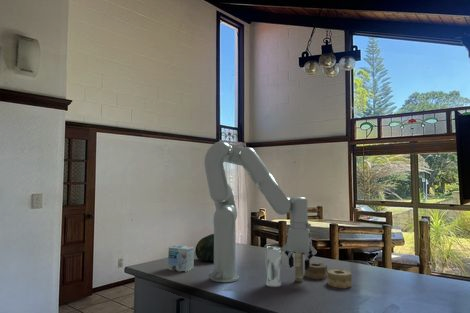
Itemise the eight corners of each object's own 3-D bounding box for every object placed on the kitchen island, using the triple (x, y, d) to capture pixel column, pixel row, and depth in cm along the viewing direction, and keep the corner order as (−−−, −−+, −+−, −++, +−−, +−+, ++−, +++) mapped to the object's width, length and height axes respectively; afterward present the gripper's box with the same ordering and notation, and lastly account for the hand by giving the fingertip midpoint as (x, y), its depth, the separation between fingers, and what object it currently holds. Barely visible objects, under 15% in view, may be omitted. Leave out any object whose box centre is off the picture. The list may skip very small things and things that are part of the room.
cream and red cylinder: (301, 282, 144) (301, 248, 145) (294, 281, 145) (294, 248, 146) (303, 280, 146) (303, 247, 147) (296, 279, 148) (296, 246, 149)
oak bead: (352, 288, 136) (352, 275, 136) (329, 287, 137) (329, 274, 138) (348, 281, 145) (348, 269, 145) (326, 280, 146) (326, 268, 147)
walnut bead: (323, 280, 147) (323, 268, 147) (303, 277, 152) (302, 265, 152) (328, 275, 155) (328, 264, 155) (309, 272, 159) (309, 261, 160)
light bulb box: (167, 270, 162) (167, 247, 163) (175, 266, 168) (175, 244, 169) (187, 272, 158) (187, 248, 159) (194, 269, 164) (194, 246, 165)
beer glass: (271, 288, 135) (271, 250, 136) (261, 283, 141) (262, 247, 142) (285, 286, 138) (285, 248, 139) (275, 281, 144) (275, 245, 146)
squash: (191, 247, 189) (197, 229, 181) (216, 246, 195) (223, 229, 187) (196, 269, 178) (203, 251, 170) (222, 268, 184) (230, 250, 176)
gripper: (321, 226, 146) (321, 268, 145) (283, 223, 155) (283, 263, 154) (315, 228, 140) (316, 272, 139) (276, 225, 149) (277, 267, 147)
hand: (299, 267), depth 146 cm, fingers open, 6 cm apart
